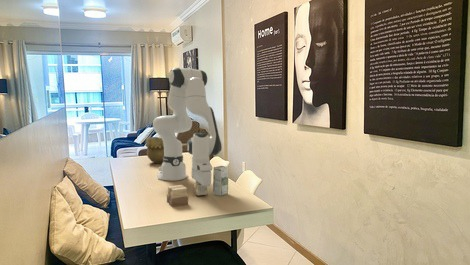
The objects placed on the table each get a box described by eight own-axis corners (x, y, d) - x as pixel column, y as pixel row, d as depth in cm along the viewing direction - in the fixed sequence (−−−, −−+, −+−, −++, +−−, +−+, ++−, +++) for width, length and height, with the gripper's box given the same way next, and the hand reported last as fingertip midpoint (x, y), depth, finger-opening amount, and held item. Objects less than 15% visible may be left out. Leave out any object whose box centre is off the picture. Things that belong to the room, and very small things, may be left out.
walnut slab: (166, 202, 171) (166, 194, 171) (182, 200, 175) (182, 192, 175) (171, 207, 164) (171, 198, 164) (188, 204, 168) (188, 196, 167)
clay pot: (155, 159, 281) (154, 134, 279) (179, 161, 274) (178, 135, 272) (139, 164, 262) (139, 137, 260) (164, 166, 255) (164, 138, 252)
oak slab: (168, 194, 171) (168, 186, 170) (181, 192, 174) (181, 184, 174) (172, 198, 165) (172, 189, 164) (187, 196, 168) (186, 188, 167)
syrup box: (220, 192, 190) (220, 165, 188) (228, 194, 186) (228, 166, 184) (212, 194, 185) (212, 166, 184) (221, 196, 182) (221, 168, 180)
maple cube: (194, 192, 184) (194, 183, 184) (203, 191, 187) (203, 182, 186) (197, 195, 180) (197, 185, 179) (206, 194, 182) (206, 184, 181)
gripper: (188, 160, 189) (188, 186, 191) (201, 168, 171) (201, 196, 173) (199, 160, 192) (199, 185, 194) (213, 167, 174) (213, 195, 175)
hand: (200, 190), depth 183 cm, fingers closed on maple cube, 5 cm apart
